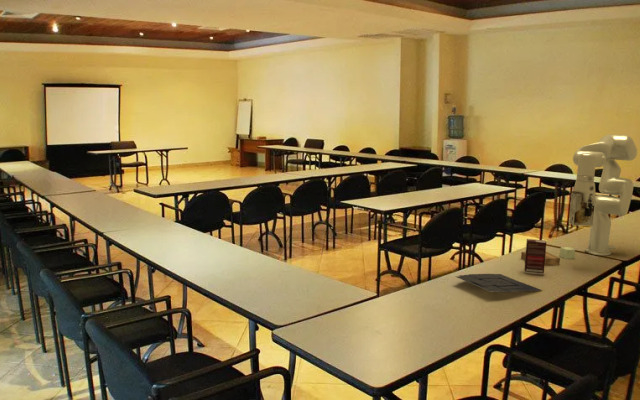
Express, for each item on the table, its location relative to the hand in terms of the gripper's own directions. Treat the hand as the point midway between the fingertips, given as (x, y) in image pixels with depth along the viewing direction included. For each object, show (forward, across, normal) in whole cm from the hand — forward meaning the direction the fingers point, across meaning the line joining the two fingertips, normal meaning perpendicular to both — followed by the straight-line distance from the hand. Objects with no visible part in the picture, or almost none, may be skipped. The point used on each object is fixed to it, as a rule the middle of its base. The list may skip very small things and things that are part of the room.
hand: (581, 214), depth 249 cm
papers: (+26, -20, +56) cm, 65 cm away
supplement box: (+26, -5, +28) cm, 39 cm away
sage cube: (+27, +14, -5) cm, 31 cm away
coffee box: (+5, 0, 0) cm, 5 cm away
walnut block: (+27, +10, +14) cm, 32 cm away
